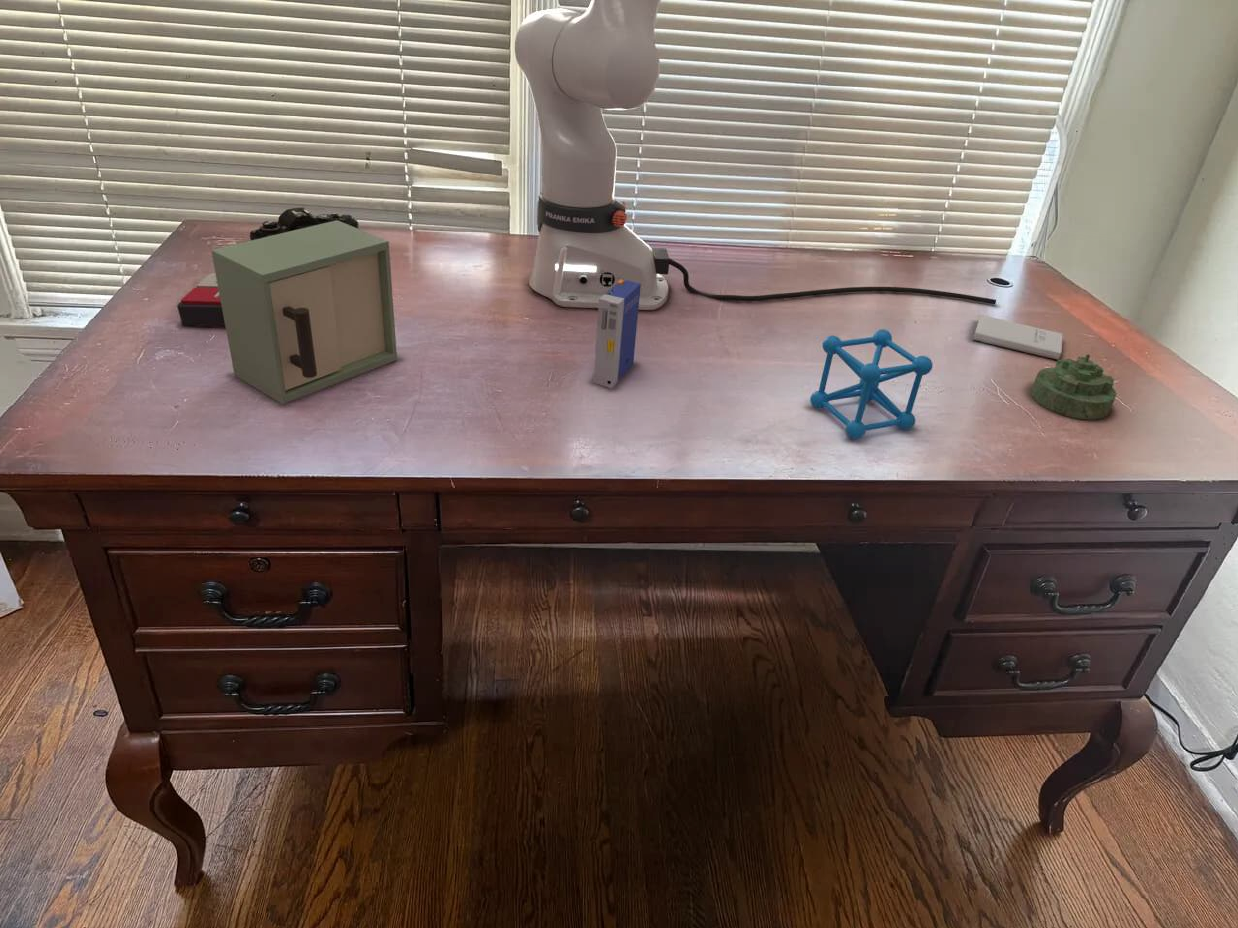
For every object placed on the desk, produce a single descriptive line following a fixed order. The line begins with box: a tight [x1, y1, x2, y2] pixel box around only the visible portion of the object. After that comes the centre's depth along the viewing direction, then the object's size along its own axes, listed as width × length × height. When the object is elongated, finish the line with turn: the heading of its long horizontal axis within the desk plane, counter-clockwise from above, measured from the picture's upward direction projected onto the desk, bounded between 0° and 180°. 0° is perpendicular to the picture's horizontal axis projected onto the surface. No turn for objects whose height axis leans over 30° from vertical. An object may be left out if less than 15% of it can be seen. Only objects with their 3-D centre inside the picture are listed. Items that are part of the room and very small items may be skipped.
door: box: [268, 266, 341, 391], centre depth 100 cm, size 4×8×13 cm, turn 142°
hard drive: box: [972, 314, 1063, 361], centre depth 134 cm, size 2×8×12 cm
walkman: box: [592, 279, 641, 389], centre depth 111 cm, size 8×3×12 cm, turn 158°
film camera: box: [249, 207, 360, 241], centre depth 134 cm, size 18×12×10 cm
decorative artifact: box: [1030, 353, 1117, 421], centre depth 116 cm, size 10×7×10 cm
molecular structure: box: [809, 328, 934, 440], centre depth 107 cm, size 10×10×10 cm
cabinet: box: [210, 220, 398, 405], centre depth 105 cm, size 10×17×16 cm, turn 142°
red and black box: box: [176, 273, 226, 328], centre depth 120 cm, size 11×4×15 cm
